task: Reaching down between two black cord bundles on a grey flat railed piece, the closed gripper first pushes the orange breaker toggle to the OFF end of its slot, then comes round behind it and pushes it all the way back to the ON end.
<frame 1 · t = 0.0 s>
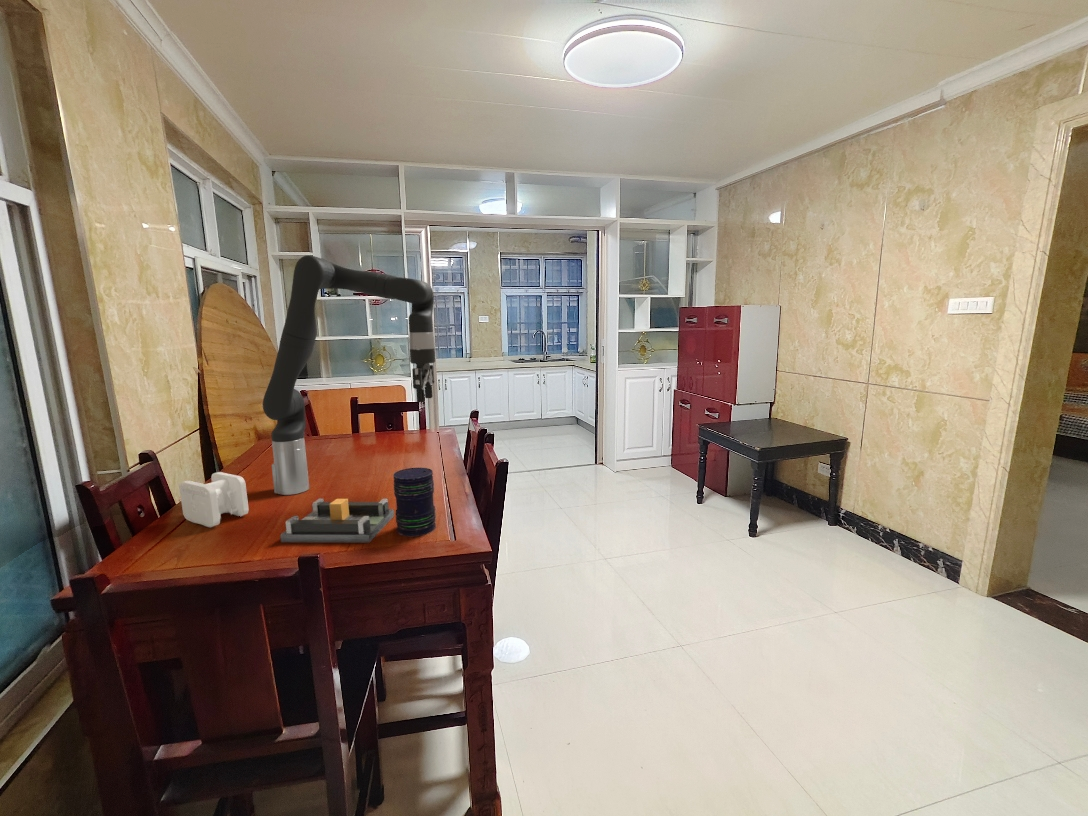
hand: (425, 400, 150), 29 cm above the table, fingers open, 8 cm apart
cable organizer: (217, 520, 134), on the table
grey flat railed piece: (341, 528, 126), on the table
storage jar: (416, 529, 125), on the table
toggle: (339, 510, 125), point 5 cm above the table, slide at 0.0 cm
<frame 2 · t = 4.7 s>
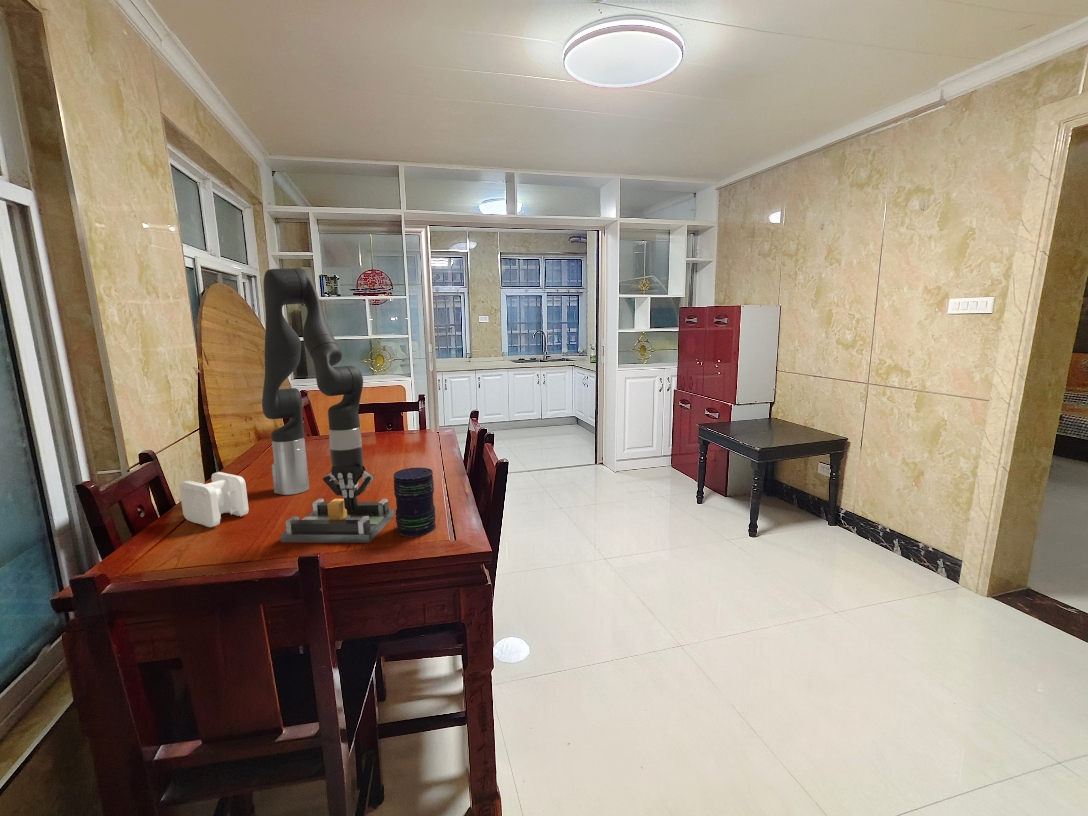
hand: (351, 510, 125), 5 cm above the table, fingers closed
toggle: (337, 510, 125), point 5 cm above the table, slide at -0.6 cm, touching gripper
everything else where it was.
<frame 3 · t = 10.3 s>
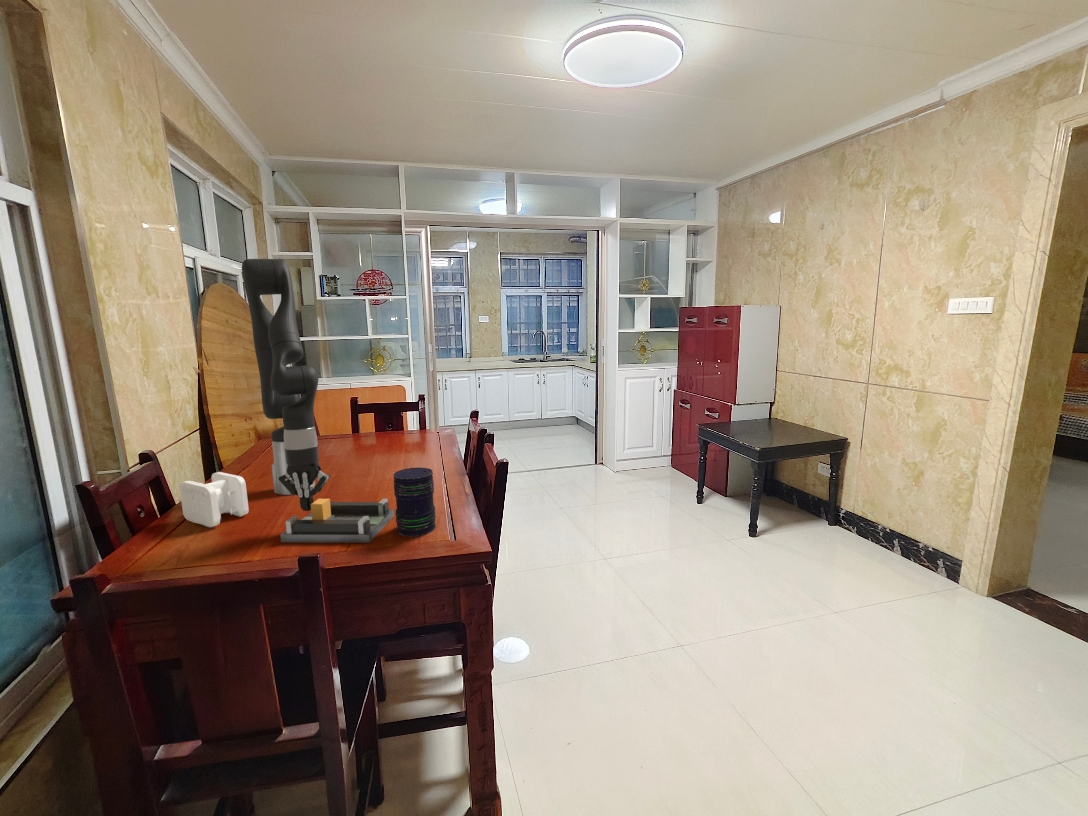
hand: (307, 509, 125), 5 cm above the table, fingers closed
toggle: (321, 510, 125), point 5 cm above the table, slide at -4.9 cm, touching gripper
everything else where it was.
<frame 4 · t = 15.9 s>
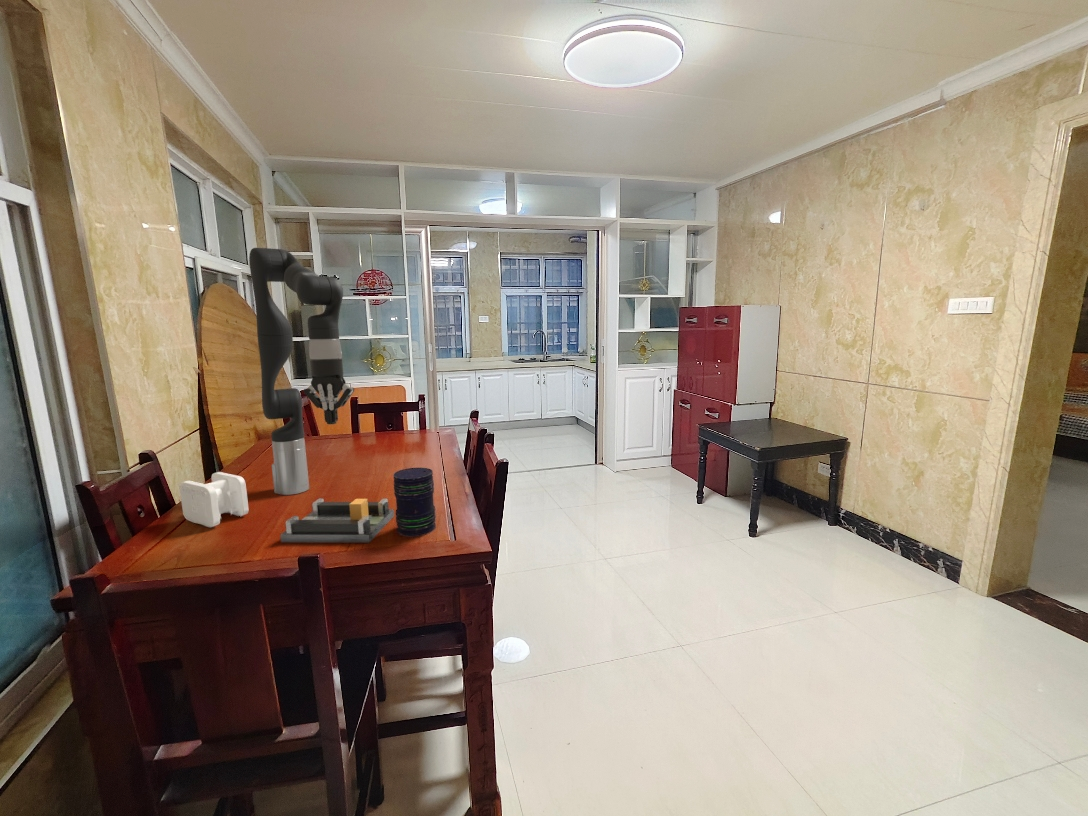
hand: (331, 423, 126), 27 cm above the table, fingers closed
toggle: (359, 511, 125), point 5 cm above the table, slide at 5.2 cm, touching grey flat railed piece
everything else where it was.
at the end: toggle slide at 5.2 cm; the gripper is holding nothing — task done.
